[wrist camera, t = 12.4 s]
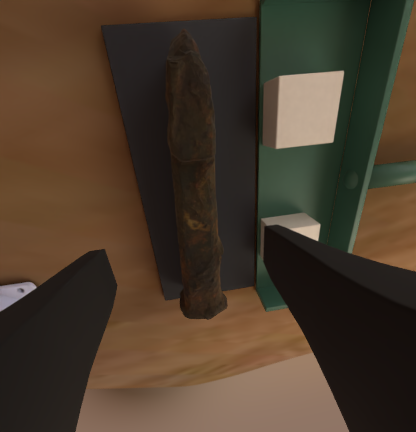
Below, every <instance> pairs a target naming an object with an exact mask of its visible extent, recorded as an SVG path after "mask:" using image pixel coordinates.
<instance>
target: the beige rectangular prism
mask: <svg viewBox="0 0 416 432" xmlns="http://www.w3.org/2000/svg"><path fill="white" fill-rule="evenodd" d="M343 76H344V71H332V72H320V73H308V74H296V75H284V76H278V77H276V78H274V79H272V80H270V81H267V82H265V83H264V96H263V145H264V146H267V147H271V148H275V149H280V148H289V147H298V146H307V145H316V144H325V143H332V142H333V140H334V134H335V128H336V121H337V115H338V108H339V102H340V96H341V89H342V83H343Z"/></svg>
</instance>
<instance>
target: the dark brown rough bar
mask: <svg viewBox="0 0 416 432" xmlns="http://www.w3.org/2000/svg"><path fill="white" fill-rule="evenodd" d="M165 99H166V102H167V106H168V110H169V120H168V128H167V140H168V145H169V148H170V153H171V167H172V176H173V187H174V194H175V211H176V224H177V232H178V243H179V251H180V264H181V271H182V284H183V287H184V288H183V290H182V291H181V292H180V308H181V311H182V312H183V315H185V317H187V318H189V319H207V320H209V319H211V318H213V317H214V316H216V315H217V314H218V313H220V312H222V311H223V310H225V309H226V308H227V306H228V305H227V298H226V296H225V295H224V294H223V292H222V290H221V287H220V284H221V283H220V264H221V259H222V257H221V256H222V255H223V253H224V249H223V245H222V242H221V240H220V238H219V236H218V214H217V202H216V189H215V156H214V155H215V153H216V141H215V138H216V130H215V111H214V106H213V101H212V93H211V86H210V79H209V74H208V71H207V68H206V67H205V65H204V63H203V61H202V59H201V56H200V53H199V48H198V46H197V44H196V43H195V41H194V39H193V38H192V36H191V35H190V33H189V32H188V31H187V30H186V29H182V31H181V32H180V33H179V34H178V35H177V36H176V37H174V38H173V39H172V40H171V43H170V48H169V53H168V56H167V60H166V91H165Z"/></svg>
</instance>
